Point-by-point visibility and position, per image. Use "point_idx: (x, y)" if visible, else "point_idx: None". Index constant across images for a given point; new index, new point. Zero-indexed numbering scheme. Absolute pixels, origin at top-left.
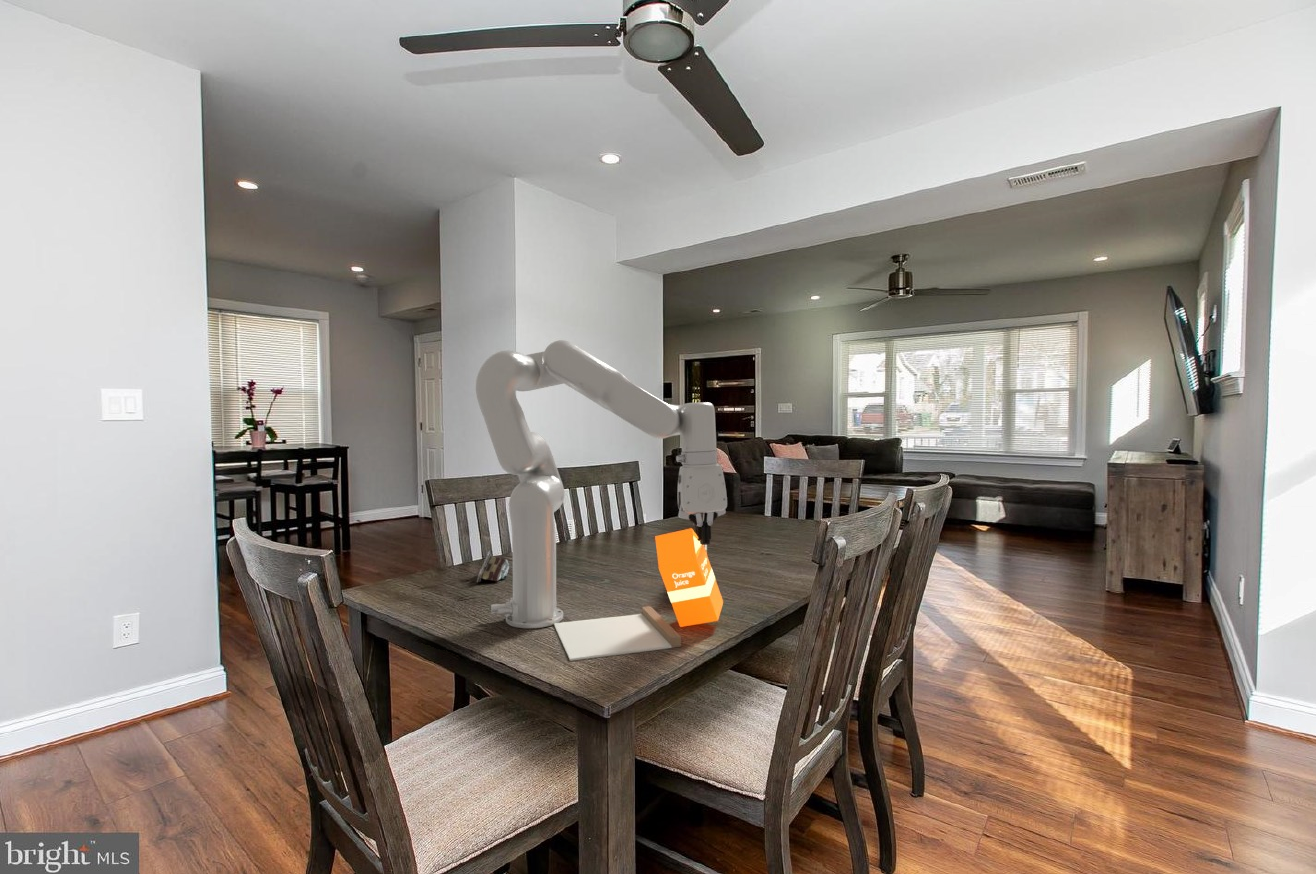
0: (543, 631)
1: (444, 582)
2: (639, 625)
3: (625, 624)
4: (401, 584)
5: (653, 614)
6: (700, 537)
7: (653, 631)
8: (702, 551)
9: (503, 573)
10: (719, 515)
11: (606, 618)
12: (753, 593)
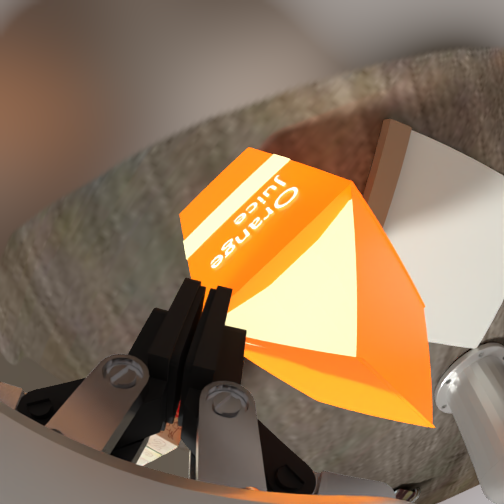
0: (497, 330)
1: (428, 493)
2: None
3: None
4: (455, 490)
5: None
6: (230, 334)
7: (388, 221)
8: (238, 275)
9: None
10: (12, 388)
11: None
12: (60, 301)
